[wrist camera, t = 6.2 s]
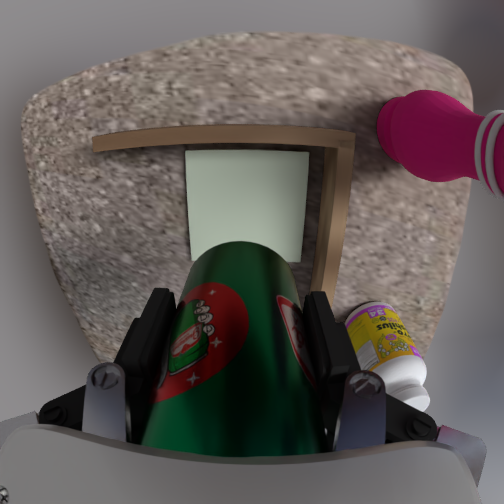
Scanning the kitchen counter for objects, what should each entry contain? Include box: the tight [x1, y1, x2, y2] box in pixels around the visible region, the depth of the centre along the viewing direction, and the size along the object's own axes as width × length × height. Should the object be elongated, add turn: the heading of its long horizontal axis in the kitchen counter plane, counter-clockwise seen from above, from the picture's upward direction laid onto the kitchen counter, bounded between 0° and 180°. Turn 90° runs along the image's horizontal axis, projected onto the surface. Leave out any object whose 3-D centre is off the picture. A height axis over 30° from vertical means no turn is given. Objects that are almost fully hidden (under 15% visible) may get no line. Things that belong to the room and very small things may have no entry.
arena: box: [92, 124, 356, 307], centre depth 24 cm, size 20×19×4 cm
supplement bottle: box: [345, 302, 430, 412], centre depth 25 cm, size 7×7×13 cm
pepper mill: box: [377, 90, 504, 202], centre depth 12 cm, size 7×7×20 cm
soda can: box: [135, 241, 329, 457], centre depth 9 cm, size 5×5×12 cm
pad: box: [185, 149, 309, 262], centre depth 25 cm, size 10×10×1 cm
